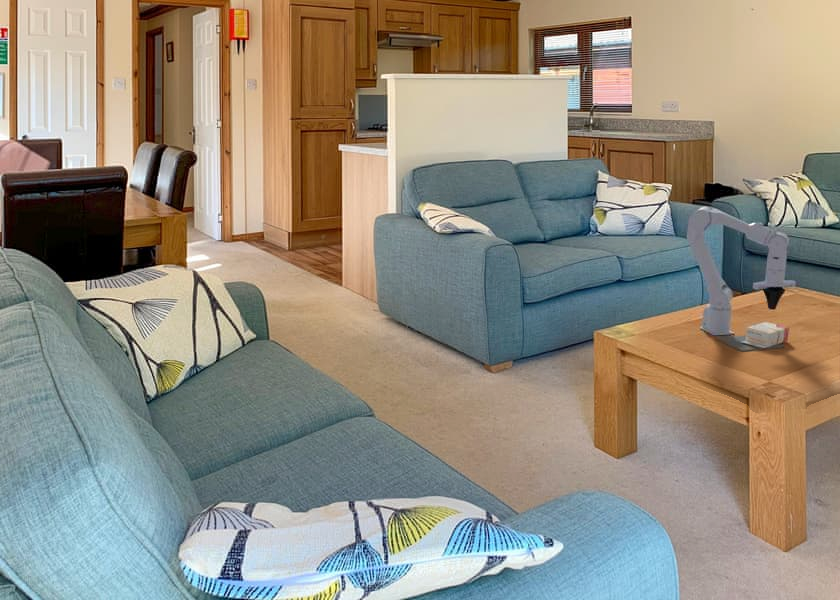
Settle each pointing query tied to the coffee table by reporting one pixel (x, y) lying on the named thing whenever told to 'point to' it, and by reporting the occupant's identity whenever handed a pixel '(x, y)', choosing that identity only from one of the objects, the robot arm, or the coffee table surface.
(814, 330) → the coffee table surface
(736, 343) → the mat
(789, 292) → the coffee table surface
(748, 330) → the ink cartridge box
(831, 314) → the coffee table surface
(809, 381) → the coffee table surface
